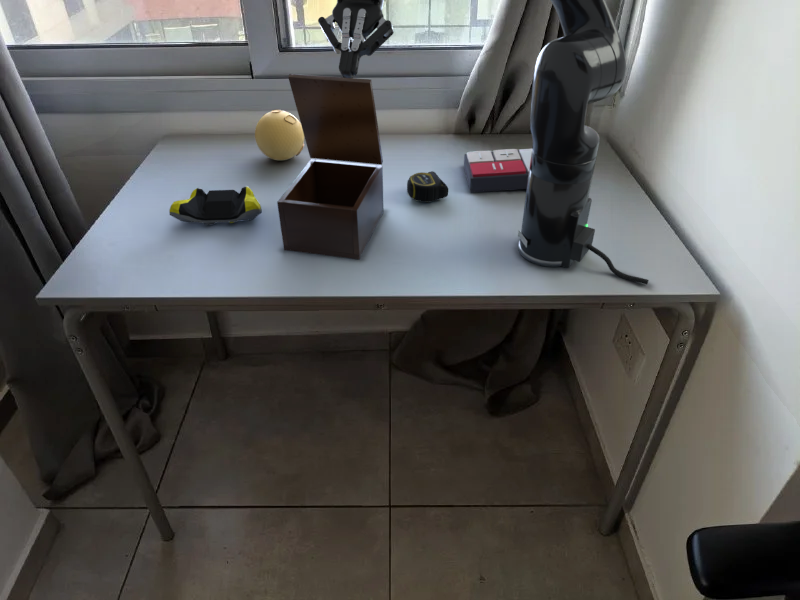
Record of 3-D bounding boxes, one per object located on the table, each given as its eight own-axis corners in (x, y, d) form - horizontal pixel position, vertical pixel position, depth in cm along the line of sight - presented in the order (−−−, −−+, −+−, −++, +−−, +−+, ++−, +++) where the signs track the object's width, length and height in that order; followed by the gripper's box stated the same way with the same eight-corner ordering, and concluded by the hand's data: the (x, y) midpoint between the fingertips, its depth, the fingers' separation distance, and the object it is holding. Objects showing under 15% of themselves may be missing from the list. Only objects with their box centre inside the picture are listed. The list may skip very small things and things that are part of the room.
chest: (359, 259, 99) (356, 210, 93) (283, 250, 101) (276, 201, 95) (383, 211, 111) (382, 165, 105) (315, 204, 113) (311, 158, 108)
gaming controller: (262, 233, 105) (268, 204, 113) (257, 204, 102) (264, 177, 110) (172, 236, 104) (184, 207, 112) (164, 207, 101) (177, 179, 109)
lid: (370, 82, 91) (371, 79, 91) (288, 77, 93) (289, 73, 94) (382, 164, 105) (383, 161, 105) (310, 158, 107) (311, 154, 108)
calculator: (463, 149, 123) (539, 144, 123) (463, 169, 125) (537, 165, 125) (470, 174, 114) (552, 169, 114) (470, 195, 117) (549, 190, 116)
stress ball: (298, 170, 124) (293, 121, 118) (251, 167, 126) (244, 119, 119) (312, 149, 132) (307, 103, 126) (267, 147, 133) (261, 101, 127)
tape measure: (449, 202, 113) (450, 184, 111) (413, 208, 112) (414, 189, 109) (436, 186, 118) (436, 168, 116) (402, 191, 117) (402, 173, 115)
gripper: (319, -39, 100) (301, 62, 98) (399, -36, 98) (382, 67, 96) (332, -10, 107) (315, 84, 105) (406, -6, 105) (390, 90, 103)
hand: (347, 76), depth 101 cm, fingers closed
